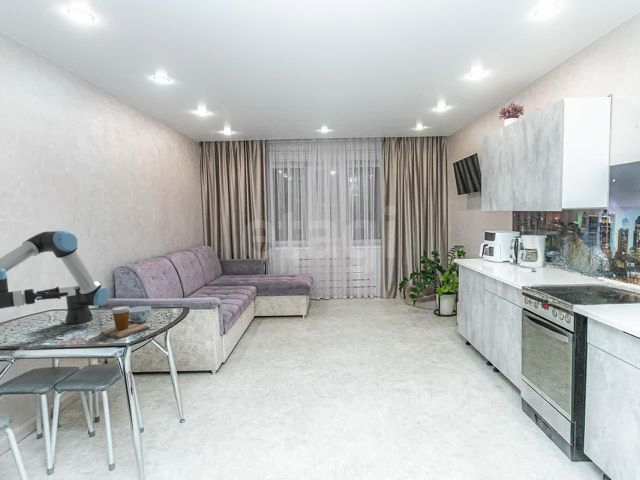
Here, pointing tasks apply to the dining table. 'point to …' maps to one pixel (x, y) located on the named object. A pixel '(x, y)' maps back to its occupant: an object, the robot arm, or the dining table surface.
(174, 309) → the dining table surface
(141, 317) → the chinaware
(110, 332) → the walnut board
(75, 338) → the dining table surface
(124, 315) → the disposable coffee cup
